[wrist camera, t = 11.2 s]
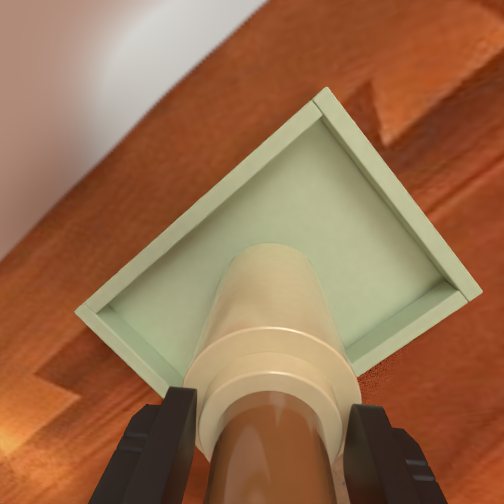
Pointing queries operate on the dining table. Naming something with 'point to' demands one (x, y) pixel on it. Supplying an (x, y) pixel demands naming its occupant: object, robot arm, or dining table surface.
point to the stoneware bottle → (271, 383)
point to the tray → (298, 237)
